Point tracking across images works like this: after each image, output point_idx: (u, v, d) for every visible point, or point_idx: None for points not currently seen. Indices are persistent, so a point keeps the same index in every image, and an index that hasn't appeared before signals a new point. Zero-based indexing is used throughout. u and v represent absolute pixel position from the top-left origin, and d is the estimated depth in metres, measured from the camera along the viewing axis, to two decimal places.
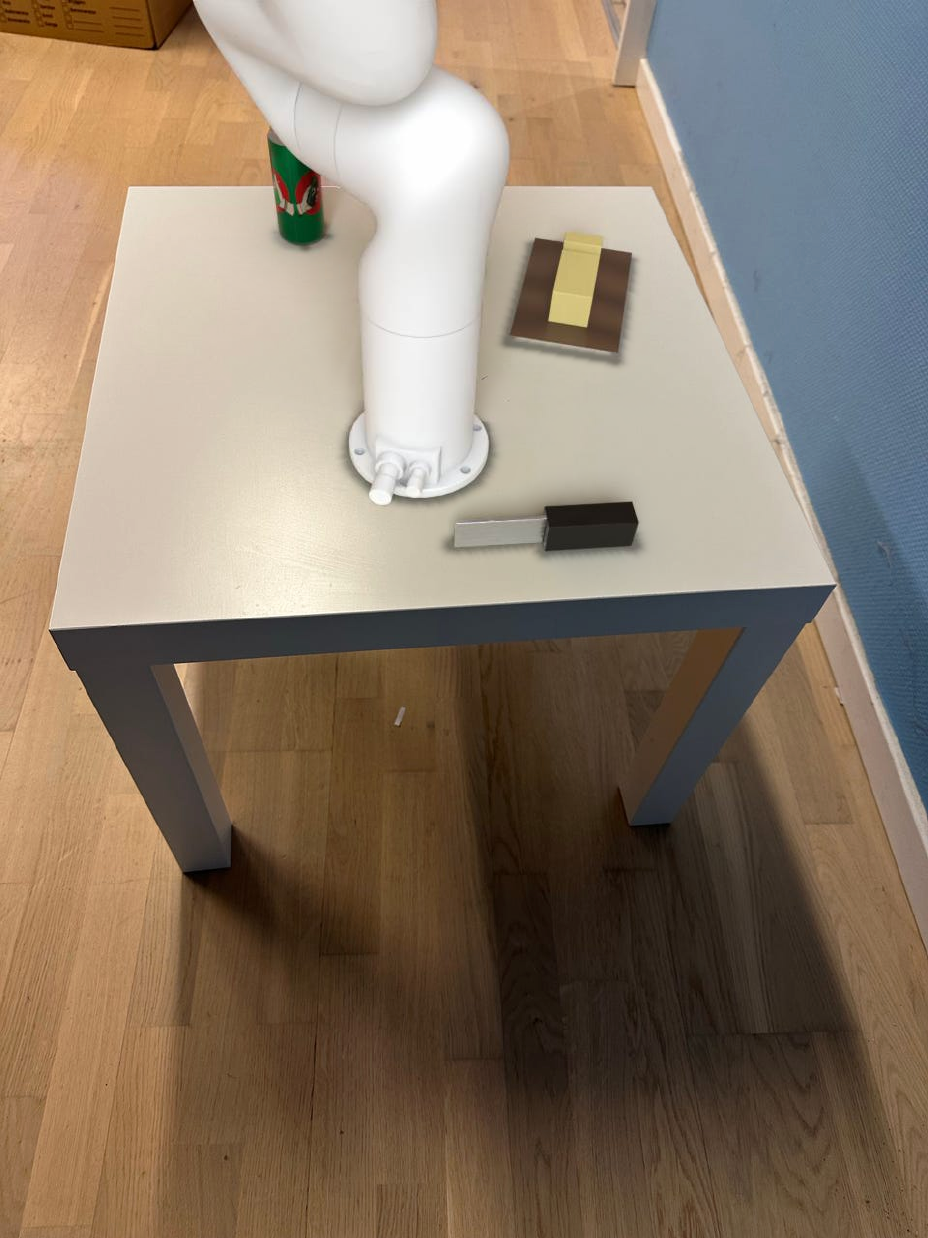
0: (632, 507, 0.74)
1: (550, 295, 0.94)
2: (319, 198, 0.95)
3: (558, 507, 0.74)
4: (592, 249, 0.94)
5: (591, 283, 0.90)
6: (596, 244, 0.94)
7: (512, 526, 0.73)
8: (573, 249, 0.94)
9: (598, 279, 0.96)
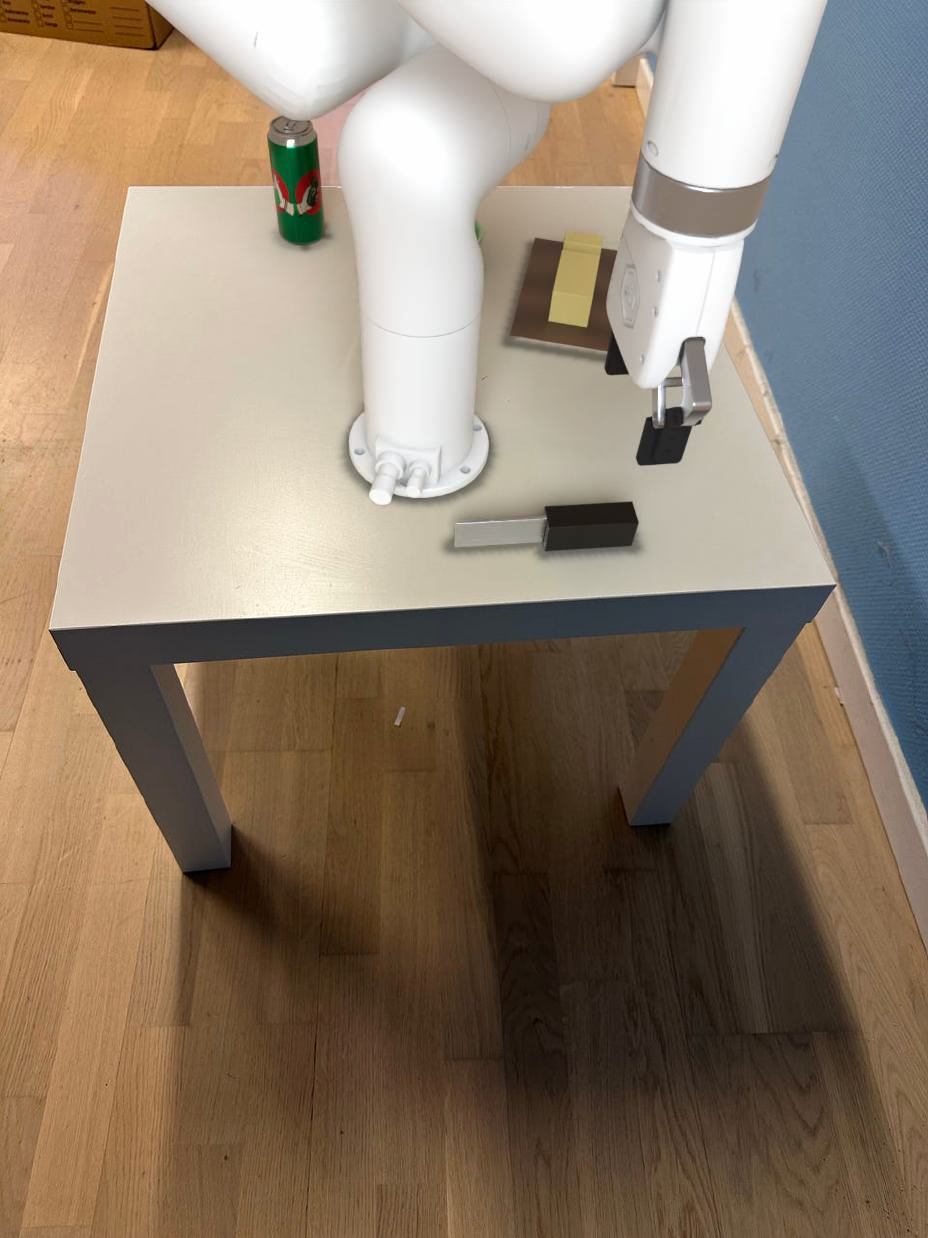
0: (632, 507, 0.74)
1: (550, 295, 0.94)
2: (319, 198, 0.95)
3: (558, 507, 0.74)
4: (592, 249, 0.94)
5: (591, 283, 0.90)
6: (596, 244, 0.94)
7: (512, 526, 0.73)
8: (573, 249, 0.94)
9: (598, 279, 0.96)
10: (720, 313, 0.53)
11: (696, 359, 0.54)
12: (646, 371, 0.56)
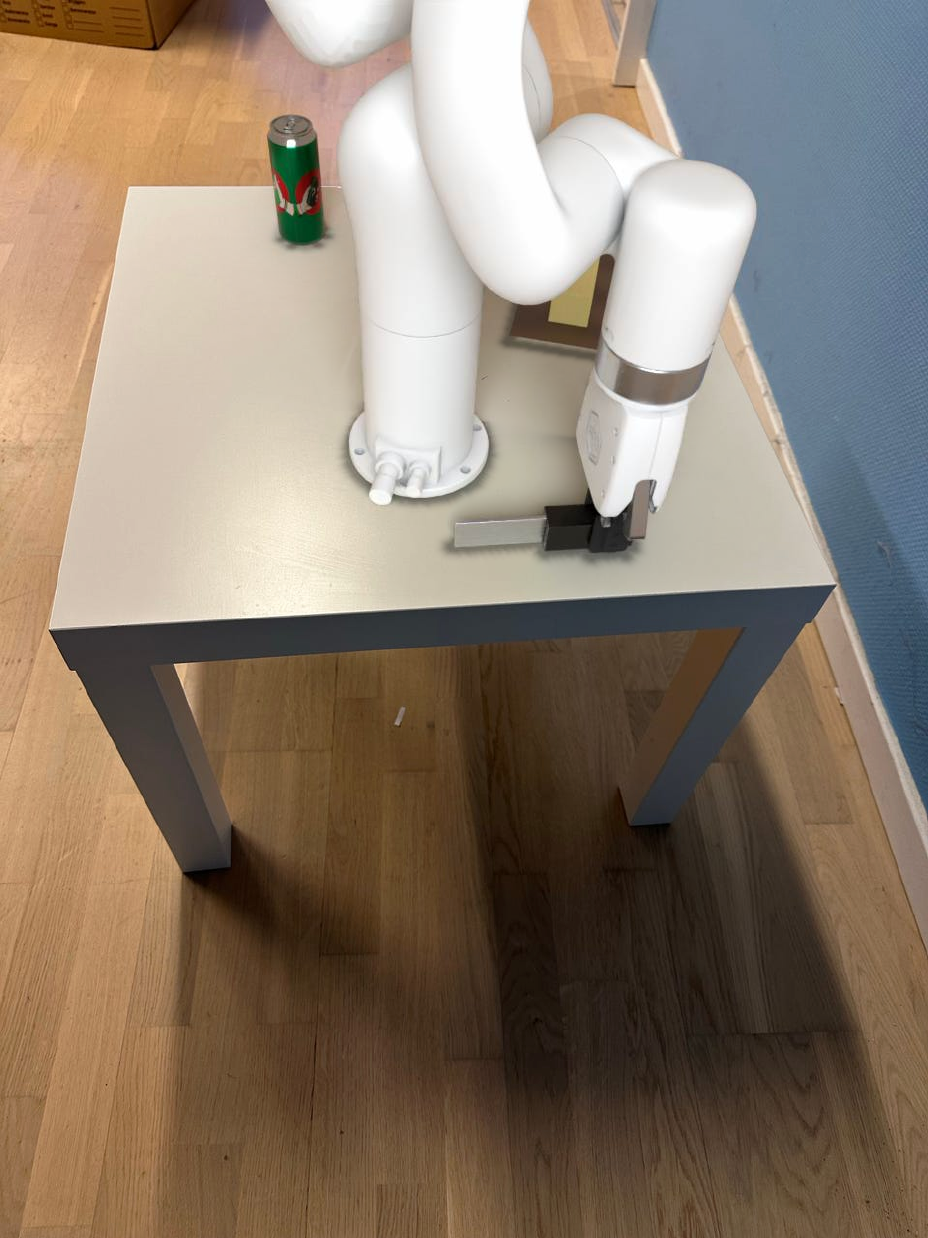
0: None
1: None
2: (319, 198, 0.95)
3: (558, 507, 0.74)
4: None
5: (591, 283, 0.90)
6: None
7: (512, 526, 0.73)
8: None
9: (598, 279, 0.96)
10: (668, 462, 0.63)
11: (640, 503, 0.65)
12: (606, 504, 0.65)
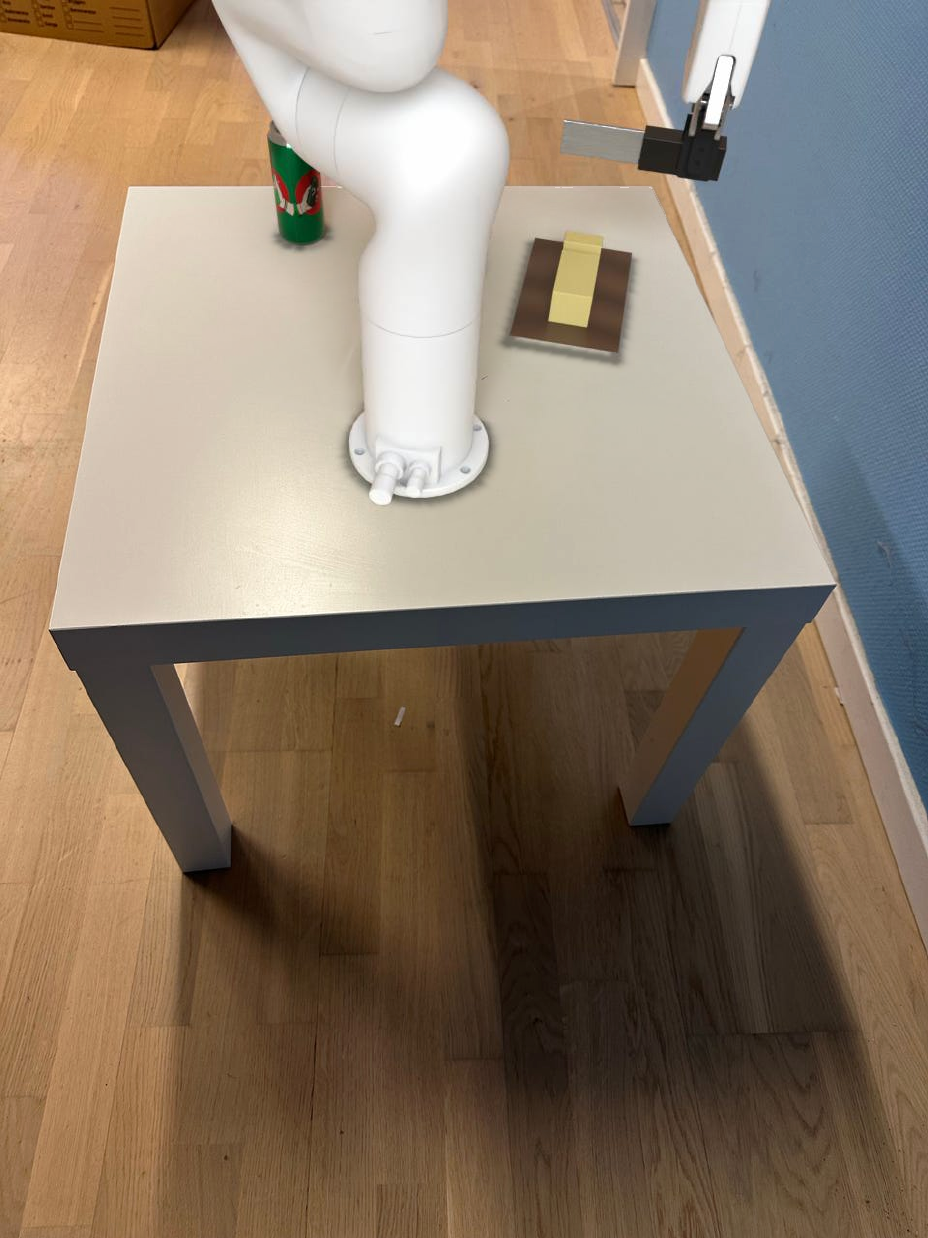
0: (725, 139, 0.82)
1: (550, 295, 0.94)
2: (319, 198, 0.95)
3: (658, 127, 0.82)
4: (592, 249, 0.94)
5: (591, 283, 0.90)
6: (596, 244, 0.94)
7: (613, 135, 0.83)
8: (573, 249, 0.94)
9: (598, 279, 0.96)
10: (749, 36, 0.70)
11: (719, 86, 0.73)
12: (689, 84, 0.74)
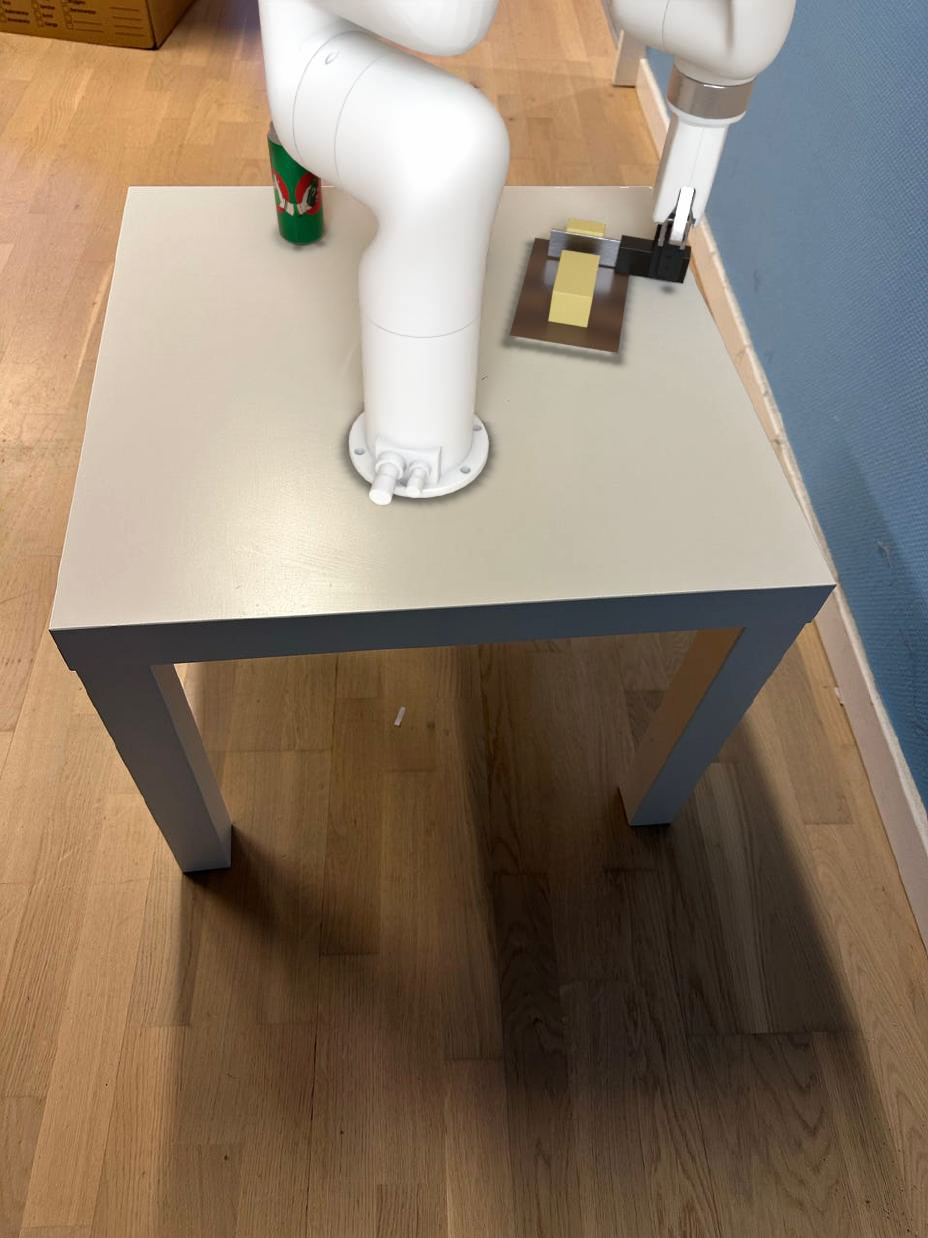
0: (689, 249, 0.95)
1: (550, 295, 0.94)
2: (319, 198, 0.95)
3: (632, 237, 0.95)
4: None
5: (591, 283, 0.90)
6: (598, 231, 0.95)
7: (593, 243, 0.96)
8: None
9: (598, 279, 0.96)
10: (706, 173, 0.83)
11: (682, 211, 0.86)
12: (656, 208, 0.87)
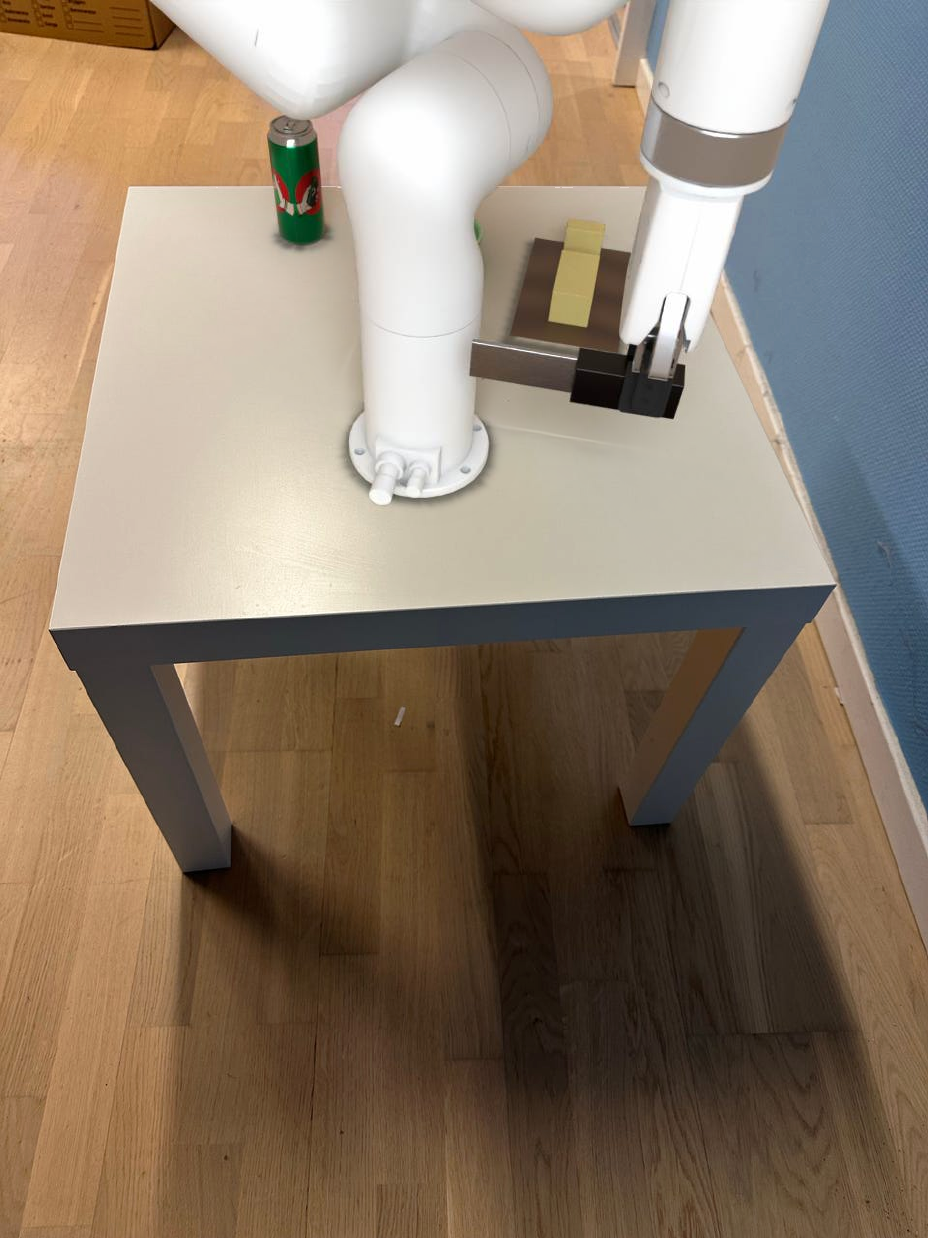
0: (682, 370, 0.62)
1: (550, 295, 0.94)
2: (319, 198, 0.95)
3: (595, 351, 0.63)
4: (594, 236, 0.95)
5: (591, 283, 0.90)
6: (598, 231, 0.95)
7: (536, 361, 0.63)
8: (575, 236, 0.96)
9: (598, 279, 0.96)
10: (707, 273, 0.50)
11: (669, 329, 0.53)
12: (627, 323, 0.54)
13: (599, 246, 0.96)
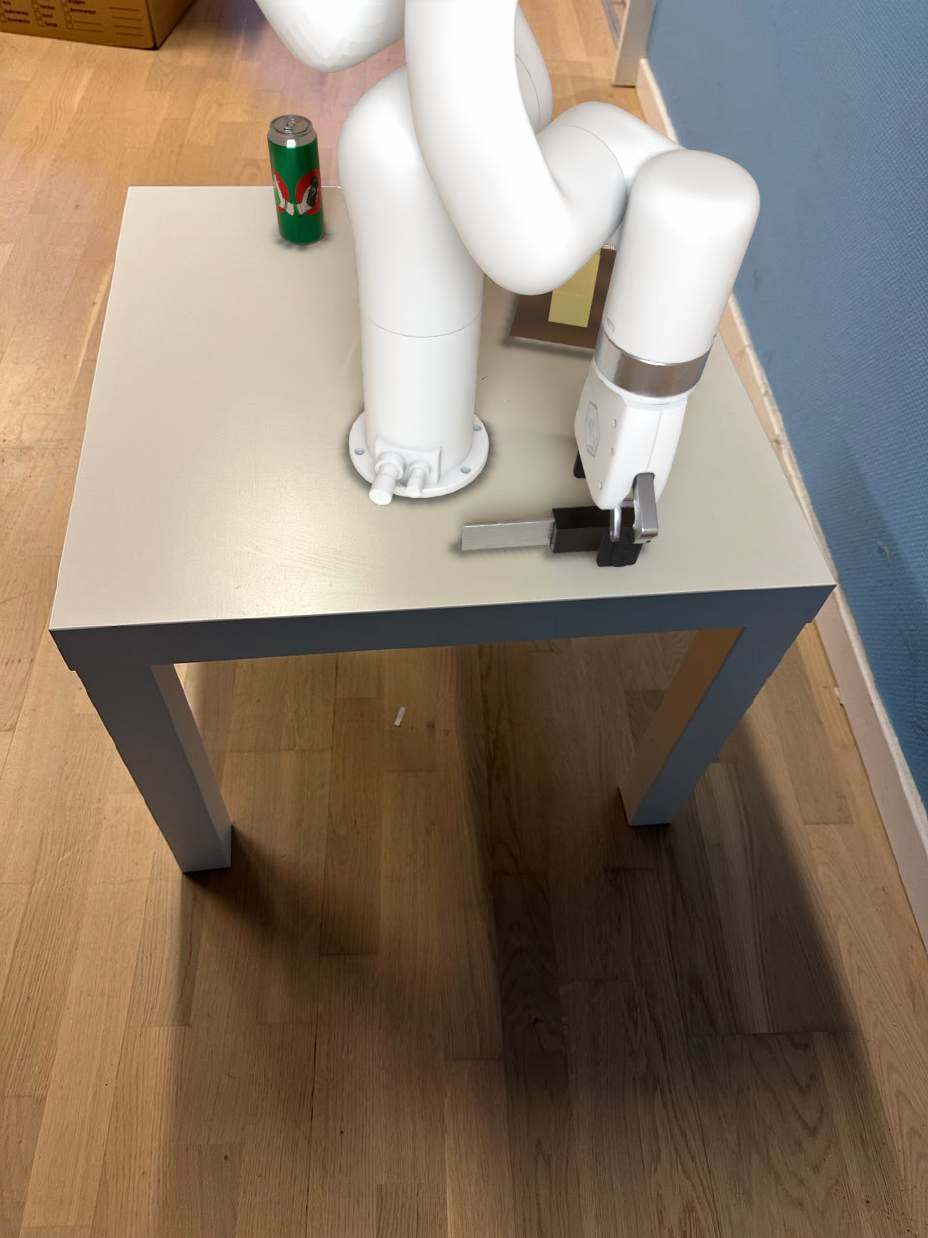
0: None
1: (550, 295, 0.94)
2: (319, 198, 0.95)
3: (565, 509, 0.74)
4: None
5: (591, 283, 0.90)
6: None
7: (520, 529, 0.73)
8: None
9: (598, 279, 0.96)
10: (667, 455, 0.62)
11: (646, 491, 0.63)
12: (604, 496, 0.65)
13: None
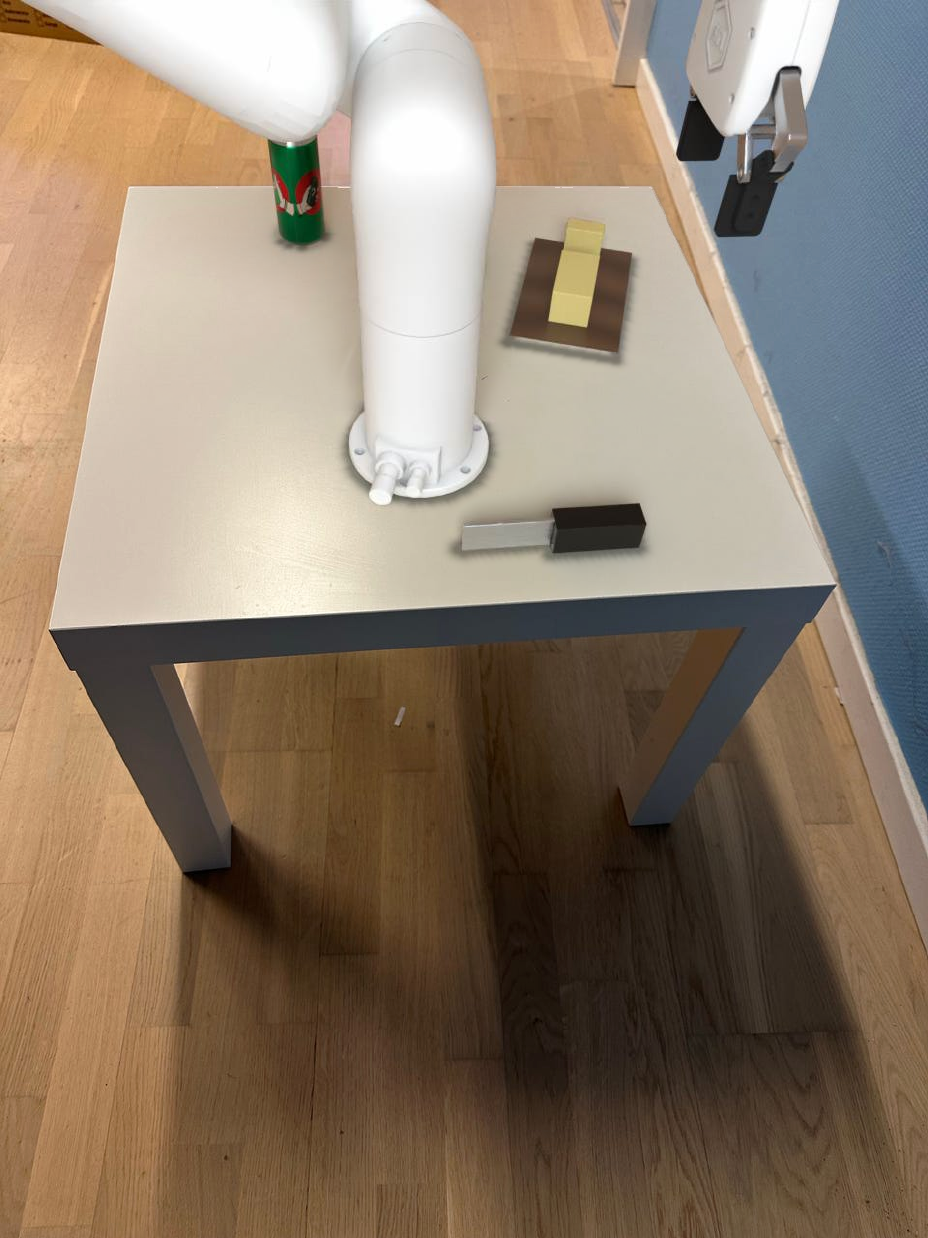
0: (639, 509, 0.74)
1: (550, 295, 0.94)
2: (319, 198, 0.95)
3: (565, 509, 0.74)
4: (594, 236, 0.95)
5: (591, 283, 0.90)
6: (598, 231, 0.95)
7: (520, 528, 0.73)
8: (575, 236, 0.96)
9: (598, 279, 0.96)
10: (820, 36, 0.51)
11: (791, 90, 0.52)
12: (736, 111, 0.53)
13: (599, 246, 0.96)
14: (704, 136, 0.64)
